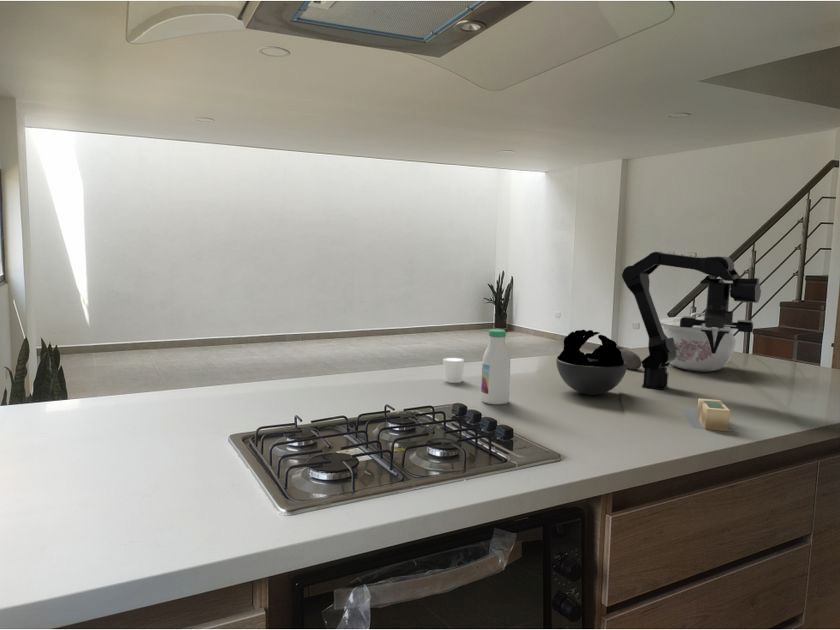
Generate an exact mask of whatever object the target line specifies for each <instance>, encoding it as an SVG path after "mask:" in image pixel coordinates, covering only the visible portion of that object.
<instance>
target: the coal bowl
mask: <svg viewBox="0 0 840 630" xmlns="http://www.w3.org/2000/svg"><path fill="white" fill-rule="evenodd" d="M594 336H597V337H598V339H599V340H600V341H601V342H600V343H601V344H600V345H599V346H598V347H597V348H595V349H594V350H593V351H592V353H590V352H586V353H584V352H582V351H581V348H582V347H583V345H584V344H585V343H587V342H588V340H589V339H590V338H593V337H594ZM617 347H618V344H617V342H616V341H614V340H613V339H610V338H609V337H607V336H606V335H603V334H600V332H598V331H594V330H592V329H589V330H586V329H580V330H578V329H577V330H575V331H571V332H570V333H568V335H567V336H565V337H564V339H563V349H562V352H560V353H559V355H558V356H557V357H556V359H555V362H556V368H557V371H558V374H559V376H560V378H561V379H562V381H563V382H564V383H565V384H566V385H567V386H568V387H569V388H571V389H572V390H573V391H574V392H578V393H580V394H583V395H587V396H589V395H591V396H597V395H601V394H605V393H608V392H609V391H611V390H614V389H615V388H616V387H617V386H619V384H620V383H621V382H622V380H623V379H624V377H625V374H626V371H627V370H628V369H627V362H625V361H623V358H622V355H621V351H620V349H619V348H617Z"/></svg>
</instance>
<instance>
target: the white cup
mask: <svg viewBox="0 0 840 630" xmlns="http://www.w3.org/2000/svg"><path fill="white" fill-rule="evenodd" d="M442 364H443V378H444V379H443V380H444V382H445V383H449V384H450V383H451V384H452V383H453V384H454V383H455V384H459V383H462V382H463V377H464V369H465V358H462V357H461V358H460V357H445V358H443V359H442Z"/></svg>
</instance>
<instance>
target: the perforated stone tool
mask: <svg viewBox="0 0 840 630" xmlns="http://www.w3.org/2000/svg"><path fill="white" fill-rule="evenodd" d="M616 347H617V348H619V349H620V351H621V355H622V358H623V361H625V362H627V369H626V370H633V371H634V370H635V371H636V370H639V369H640V368H641V367H642V360H641V357H640V356H639V355H638V354H637V353H635V352H633V351H631V350H630V349H627V348H623V347H621V346H620V347H618V346H616Z"/></svg>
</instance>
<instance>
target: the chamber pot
mask: <svg viewBox="0 0 840 630" xmlns="http://www.w3.org/2000/svg"><path fill="white" fill-rule="evenodd" d="M683 317H684V316H673V317H672V316H671V317H665V318H659V321H660V323H661V326H663V332H664V334H665V335H666V336H667V337H668V338H671V337H673V339H674V344H675V346H676V348H677V349H678V350H676V353H677V355H676V357H675V359H674V360H673V361H672V362H670V364H669V365H672V367H673V366H674V367H675V368H678V369H681V370H685V371H690V372H698V373H699V372H700V373H710V372H714V371H720V370H721V369H723V368H724V367H725V366H726V365H727V364H728V362H729V361H730V360H731V359H732V357H733V354H734V351H735V347H736V338H735V336H734V334H733V333H734V331H735V330H736V329H734V328H730V329H729V330H730V333H729V334H727V333H726V334H725V335H724V336H723V338H722V339H721V341H720V343H719V346H718V348H717V350H716V353H715V354H714V353H712V351H711V347H710V344H709V340H708V338H707V335H706V333H705V332H702V331H701V329H702V327H701V326H695V325H694V326H693V327H691V328H688V327H680V319H681V318H683ZM689 317H696V320H704V319H705V312H701V311H697V312H696V311H695V312H693V313H691V314H690V315H689ZM718 330H719V328H715V327H713V331H714V346H715V342H716V338H717V333H718Z"/></svg>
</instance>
